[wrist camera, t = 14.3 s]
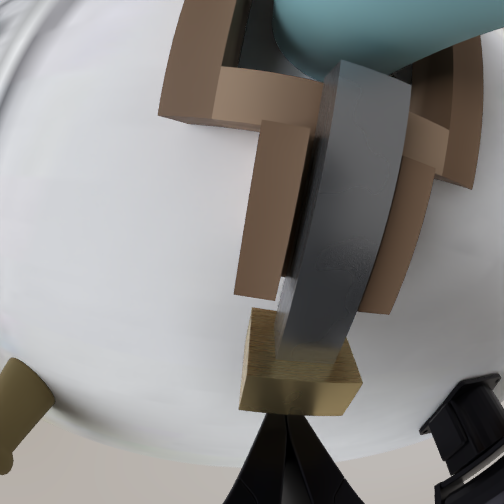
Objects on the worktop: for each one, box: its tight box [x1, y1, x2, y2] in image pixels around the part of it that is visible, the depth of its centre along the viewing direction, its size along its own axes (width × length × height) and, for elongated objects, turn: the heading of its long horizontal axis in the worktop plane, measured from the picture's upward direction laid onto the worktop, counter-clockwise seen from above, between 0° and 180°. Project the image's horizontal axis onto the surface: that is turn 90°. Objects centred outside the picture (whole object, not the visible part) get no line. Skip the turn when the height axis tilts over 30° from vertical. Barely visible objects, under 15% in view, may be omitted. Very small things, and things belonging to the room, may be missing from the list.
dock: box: [158, 0, 483, 315], centre depth 6 cm, size 10×14×4 cm
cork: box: [0, 358, 55, 475], centre depth 11 cm, size 6×6×11 cm
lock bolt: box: [239, 60, 412, 416], centre depth 6 cm, size 3×8×3 cm, turn 171°
